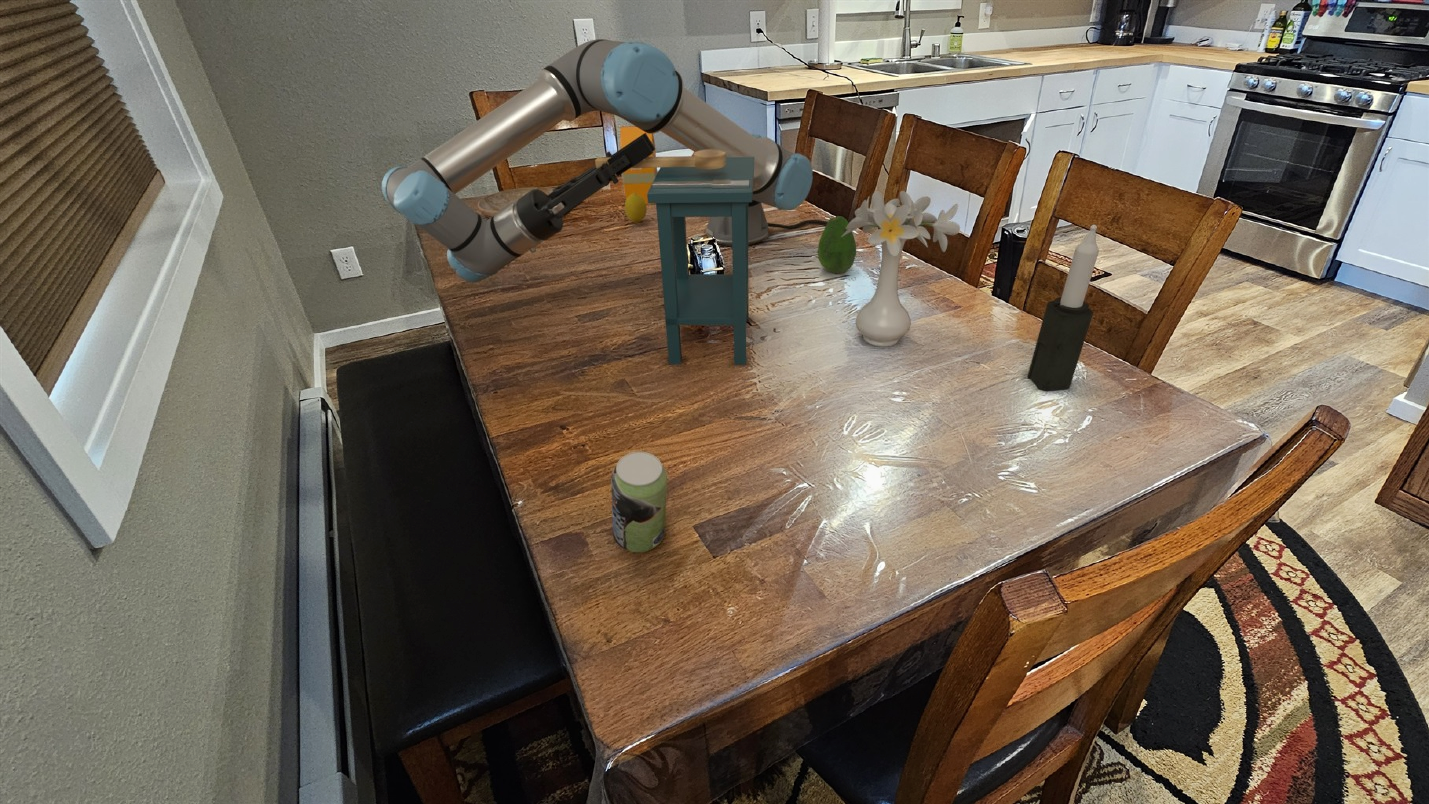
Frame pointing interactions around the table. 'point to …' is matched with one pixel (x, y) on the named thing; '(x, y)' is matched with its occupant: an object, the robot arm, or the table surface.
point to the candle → (1065, 323)
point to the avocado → (836, 246)
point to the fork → (703, 184)
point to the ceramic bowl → (505, 199)
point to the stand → (684, 293)
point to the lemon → (635, 208)
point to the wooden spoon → (681, 160)
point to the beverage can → (638, 501)
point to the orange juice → (637, 177)
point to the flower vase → (894, 259)
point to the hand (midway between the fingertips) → (648, 143)
